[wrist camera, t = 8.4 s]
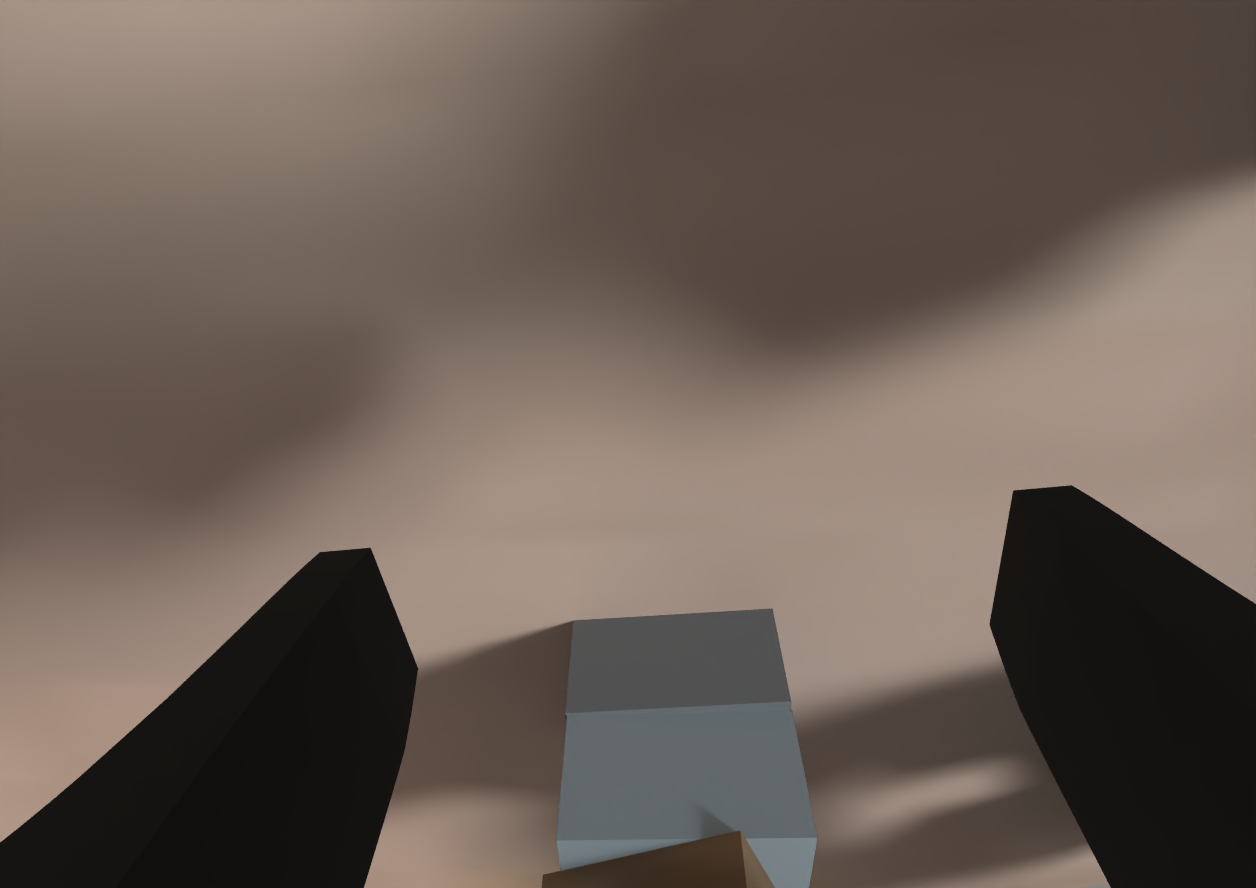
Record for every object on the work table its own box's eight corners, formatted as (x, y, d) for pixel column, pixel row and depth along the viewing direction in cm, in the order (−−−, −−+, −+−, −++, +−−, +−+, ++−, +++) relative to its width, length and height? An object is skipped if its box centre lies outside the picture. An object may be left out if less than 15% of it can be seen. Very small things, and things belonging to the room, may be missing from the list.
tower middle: (792, 711, 21) (817, 837, 18) (776, 838, 24) (795, 963, 21) (567, 714, 21) (556, 840, 18) (581, 840, 25) (574, 964, 22)
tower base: (771, 605, 24) (790, 701, 21) (770, 732, 27) (786, 830, 24) (573, 617, 24) (564, 713, 21) (595, 741, 27) (591, 839, 24)
